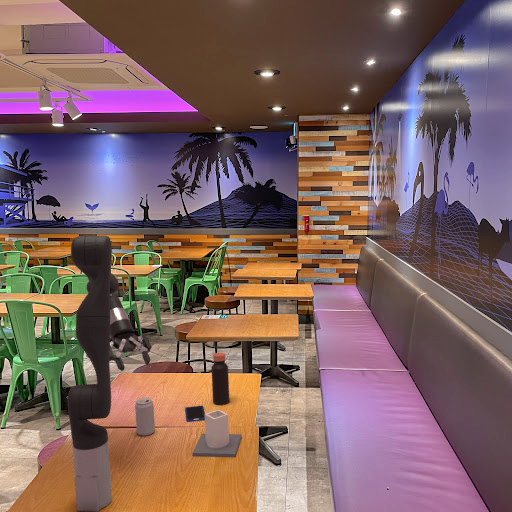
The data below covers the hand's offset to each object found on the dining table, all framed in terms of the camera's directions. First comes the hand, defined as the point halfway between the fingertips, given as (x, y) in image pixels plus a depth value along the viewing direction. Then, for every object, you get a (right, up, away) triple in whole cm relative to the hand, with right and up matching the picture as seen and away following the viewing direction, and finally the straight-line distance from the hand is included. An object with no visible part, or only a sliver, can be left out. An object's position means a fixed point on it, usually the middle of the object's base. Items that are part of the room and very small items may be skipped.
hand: (135, 366), depth 163 cm
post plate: (+25, -29, +10) cm, 40 cm away
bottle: (+24, -25, +49) cm, 60 cm away
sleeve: (+25, -28, +10) cm, 39 cm away
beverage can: (-2, -29, +23) cm, 37 cm away
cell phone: (+14, -27, +38) cm, 49 cm away
